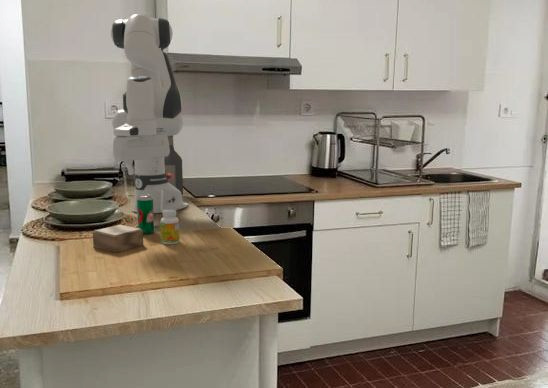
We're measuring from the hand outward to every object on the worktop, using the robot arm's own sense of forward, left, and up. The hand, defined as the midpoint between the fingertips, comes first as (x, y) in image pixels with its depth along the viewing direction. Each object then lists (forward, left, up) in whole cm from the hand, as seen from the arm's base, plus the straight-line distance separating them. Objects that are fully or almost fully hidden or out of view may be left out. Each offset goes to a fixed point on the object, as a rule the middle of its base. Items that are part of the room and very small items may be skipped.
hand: (143, 173), depth 175 cm
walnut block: (+16, +6, -19) cm, 26 cm away
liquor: (-52, -42, -20) cm, 70 cm away
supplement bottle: (+4, +15, -20) cm, 25 cm away
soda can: (0, 0, -20) cm, 20 cm away
